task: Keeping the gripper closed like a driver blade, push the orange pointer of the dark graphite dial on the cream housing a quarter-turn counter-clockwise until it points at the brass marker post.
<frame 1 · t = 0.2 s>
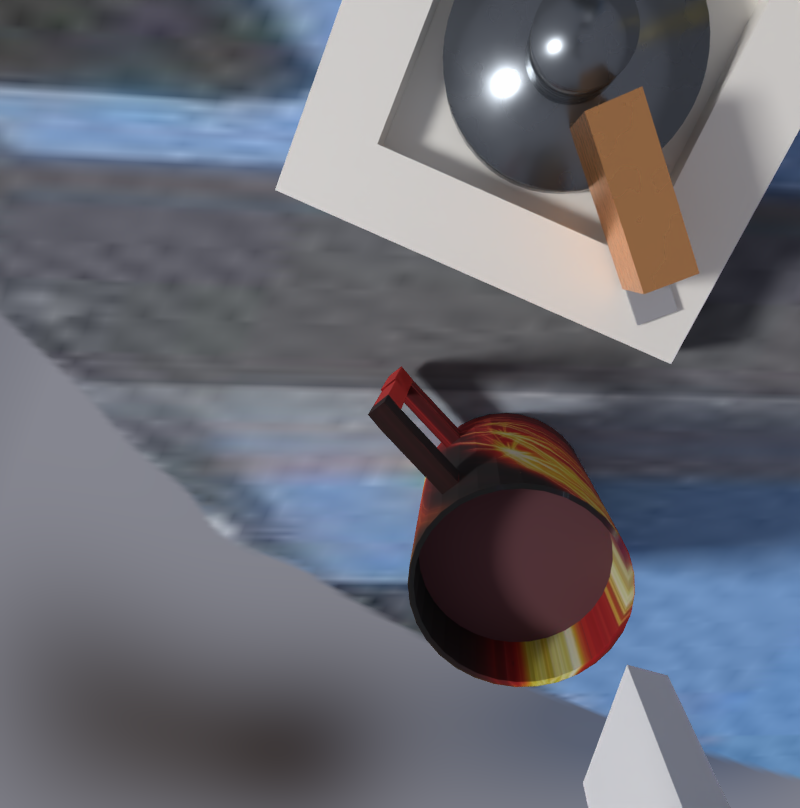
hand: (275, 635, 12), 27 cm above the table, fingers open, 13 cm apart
dial: (595, 102, 29), point 5 cm above the table, hinge at 45.0°
housing: (560, 77, 34), on the table
mug: (471, 475, 40), on the table
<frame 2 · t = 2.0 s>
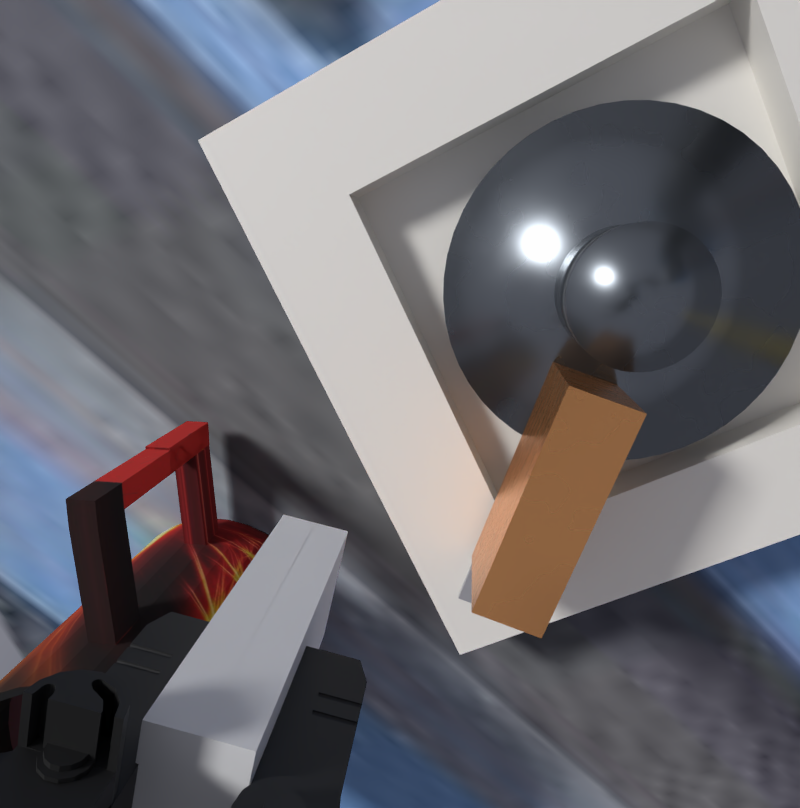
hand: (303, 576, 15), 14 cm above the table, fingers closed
dial: (596, 365, 22), point 5 cm above the table, hinge at 45.0°
housing: (597, 284, 26), on the table
mug: (203, 571, 32), on the table
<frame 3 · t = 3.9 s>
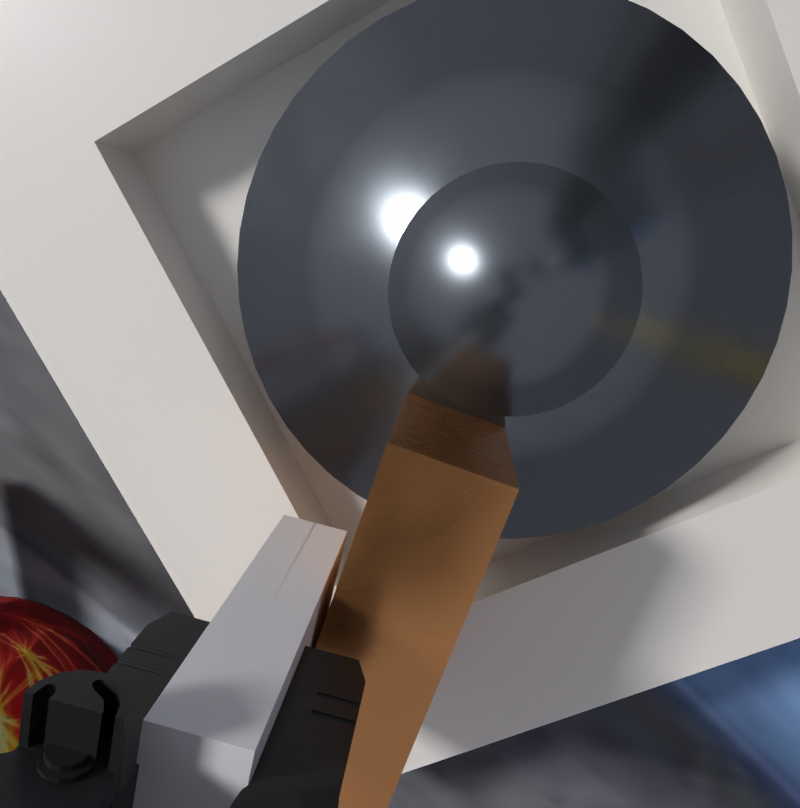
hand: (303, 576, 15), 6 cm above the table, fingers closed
dial: (463, 400, 14), point 5 cm above the table, hinge at 45.0°, touching gripper
housing: (494, 277, 18), on the table
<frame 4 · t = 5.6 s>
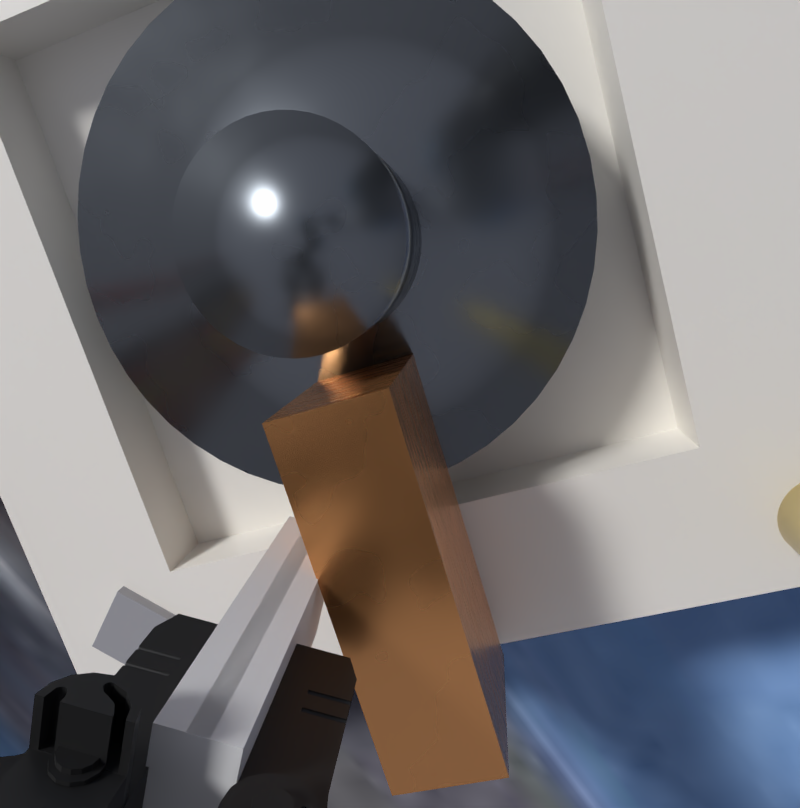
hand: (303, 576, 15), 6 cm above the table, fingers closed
dial: (349, 353, 14), point 5 cm above the table, hinge at 90.3°, touching gripper
housing: (360, 245, 19), on the table
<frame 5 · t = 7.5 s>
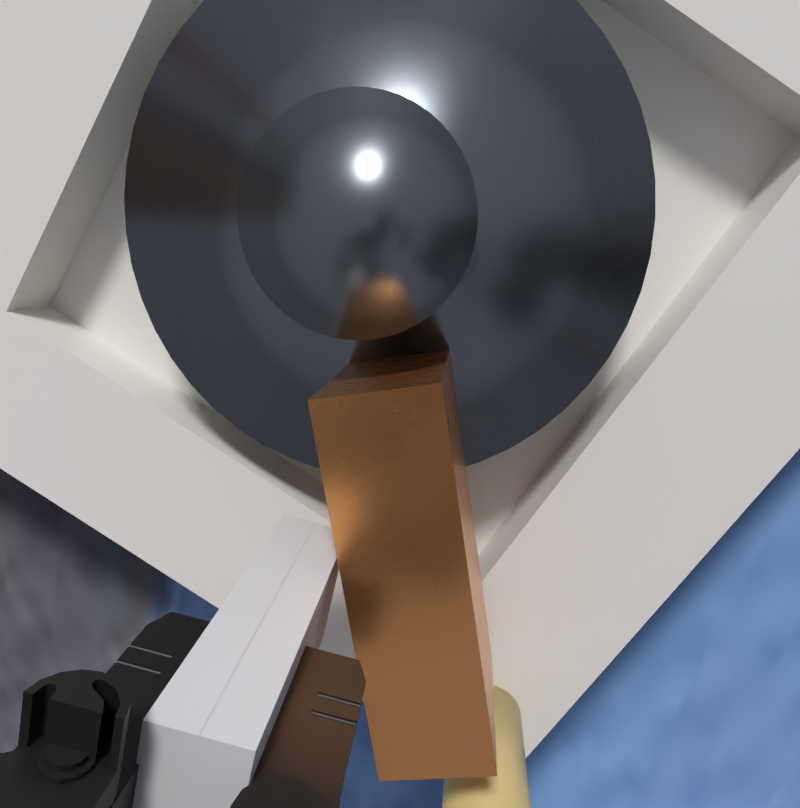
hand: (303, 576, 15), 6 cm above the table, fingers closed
dial: (390, 341, 14), point 5 cm above the table, hinge at 131.8°
housing: (399, 231, 19), on the table
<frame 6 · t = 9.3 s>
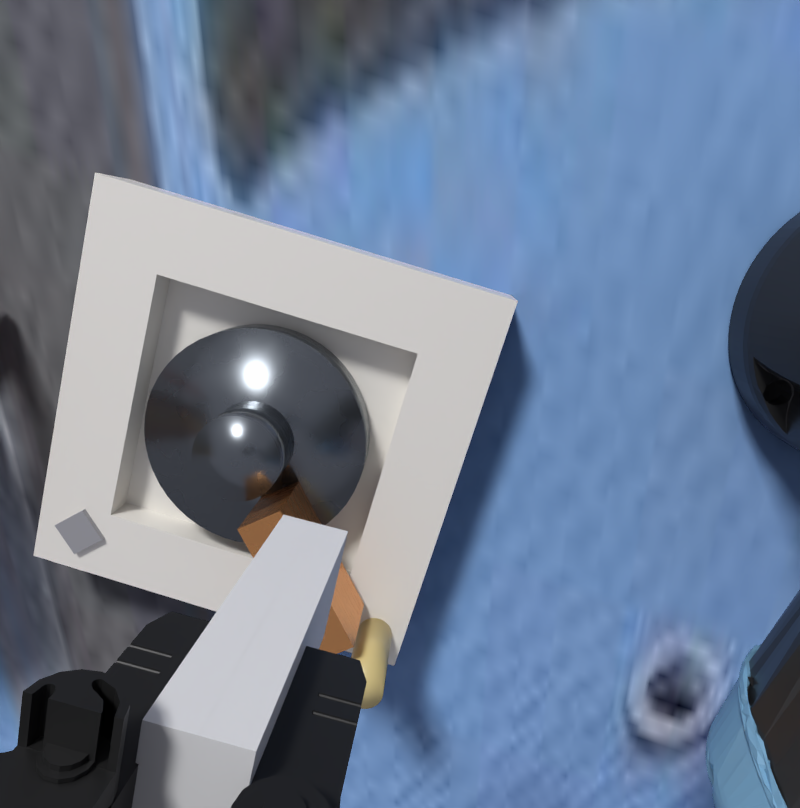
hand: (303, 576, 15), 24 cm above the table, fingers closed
dial: (270, 488, 34), point 5 cm above the table, hinge at 131.8°
housing: (274, 419, 39), on the table
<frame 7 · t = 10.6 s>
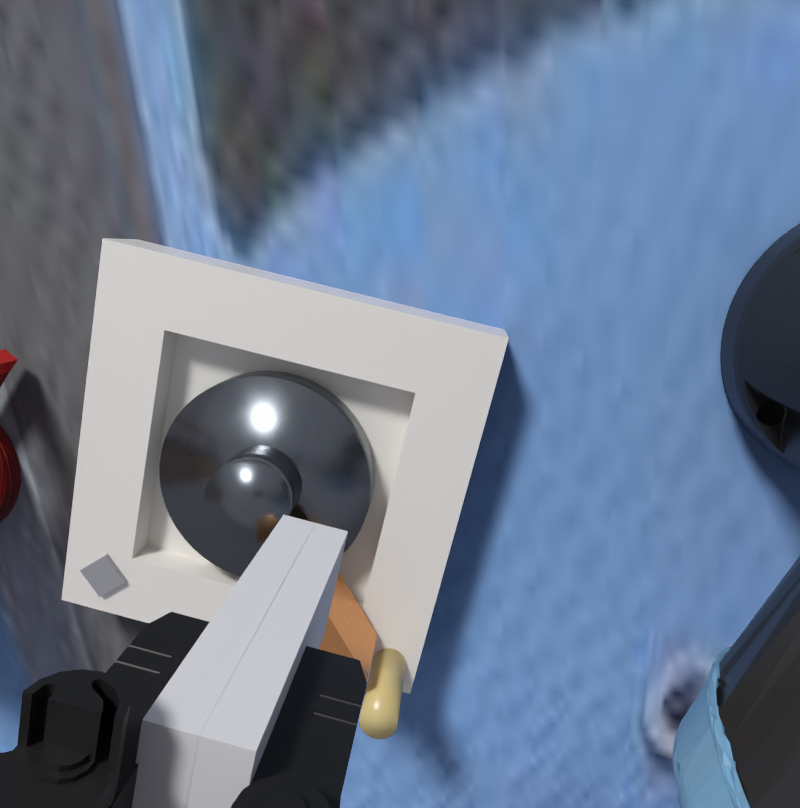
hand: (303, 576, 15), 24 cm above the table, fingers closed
dial: (280, 528, 36), point 5 cm above the table, hinge at 131.8°
housing: (284, 459, 40), on the table
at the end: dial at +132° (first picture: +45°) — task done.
